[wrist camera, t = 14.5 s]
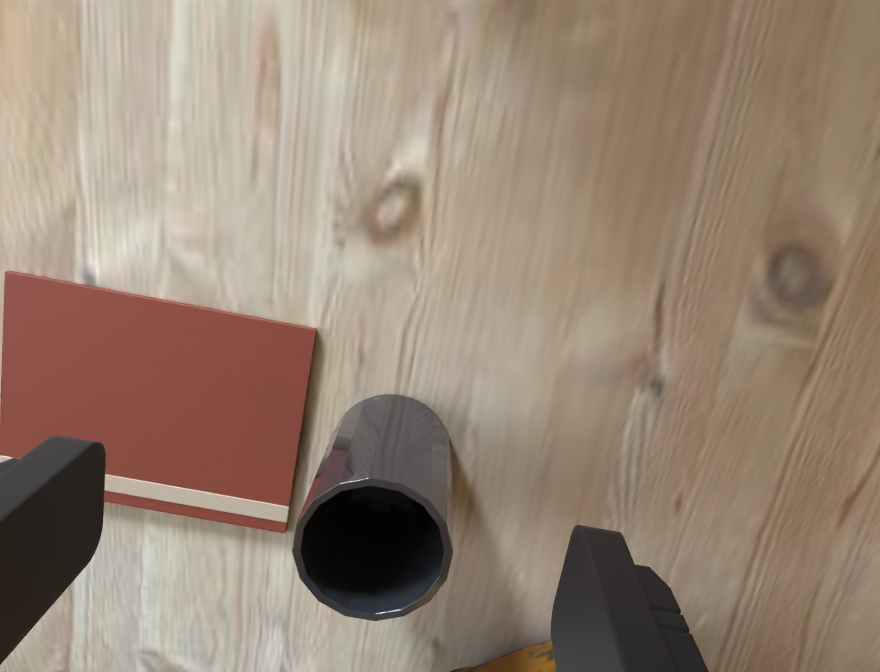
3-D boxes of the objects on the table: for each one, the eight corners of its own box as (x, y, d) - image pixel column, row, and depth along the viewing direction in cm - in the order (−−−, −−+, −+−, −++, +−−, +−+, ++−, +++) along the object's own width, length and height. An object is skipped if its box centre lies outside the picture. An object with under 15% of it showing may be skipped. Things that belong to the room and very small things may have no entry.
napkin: (317, 328, 37) (315, 330, 37) (286, 530, 40) (284, 534, 40) (8, 270, 37) (3, 271, 36) (0, 480, 40) (-3, 483, 39)
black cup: (461, 406, 38) (465, 495, 29) (438, 513, 40) (435, 631, 30) (341, 384, 38) (305, 466, 28) (323, 493, 40) (283, 605, 30)
